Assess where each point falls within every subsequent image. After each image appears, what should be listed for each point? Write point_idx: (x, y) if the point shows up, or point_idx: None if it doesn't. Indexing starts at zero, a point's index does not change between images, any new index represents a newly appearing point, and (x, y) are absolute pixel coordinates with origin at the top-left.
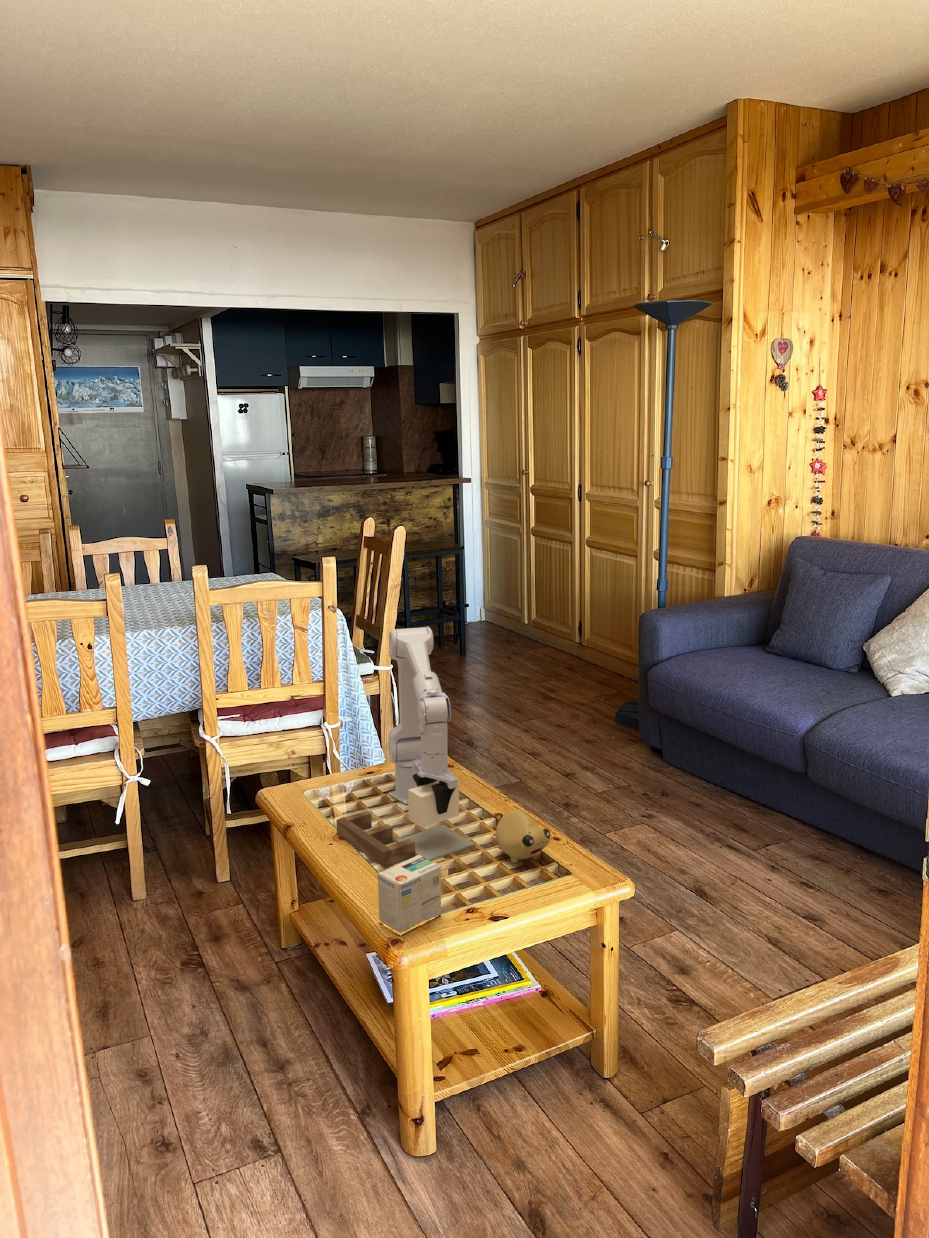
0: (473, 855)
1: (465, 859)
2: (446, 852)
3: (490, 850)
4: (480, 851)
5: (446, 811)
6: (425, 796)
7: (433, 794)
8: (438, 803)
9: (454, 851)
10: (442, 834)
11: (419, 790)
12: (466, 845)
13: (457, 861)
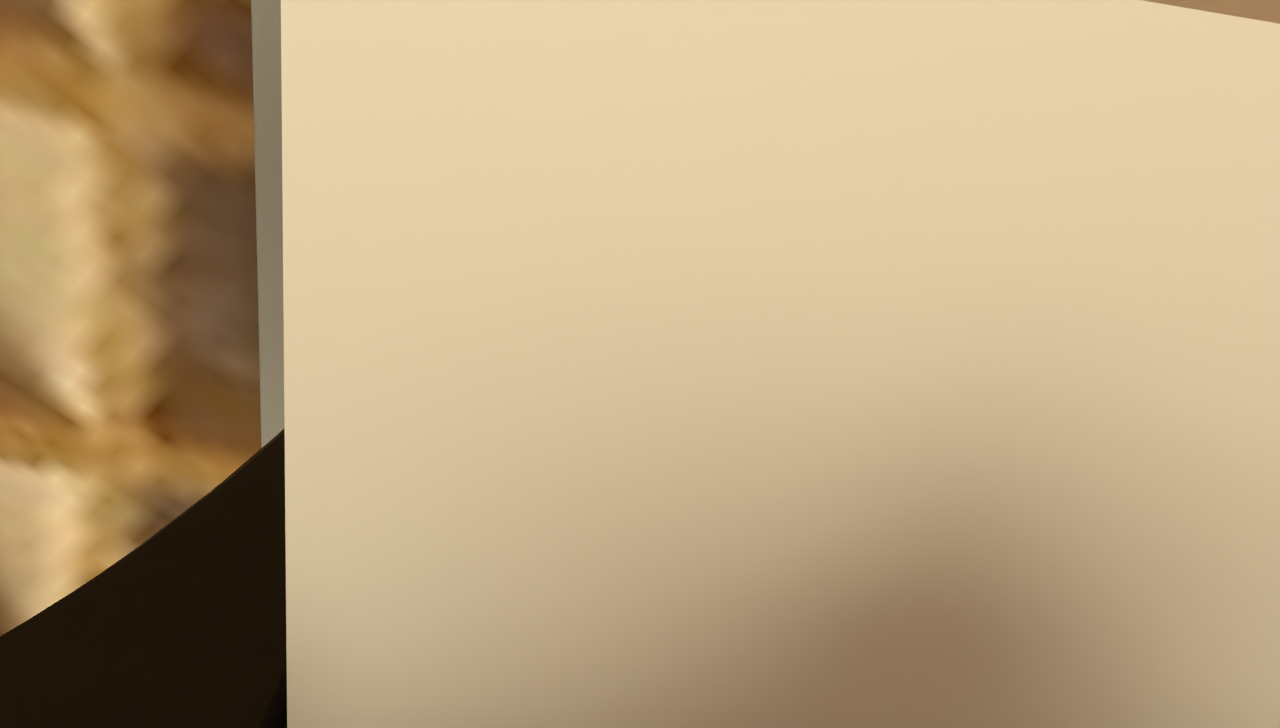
0: (55, 301)
1: (9, 159)
2: (274, 82)
3: (60, 504)
4: (102, 419)
5: None
6: (292, 247)
7: (289, 705)
8: (190, 512)
9: (257, 194)
10: None
11: (1182, 522)
12: (279, 390)
13: (13, 40)
